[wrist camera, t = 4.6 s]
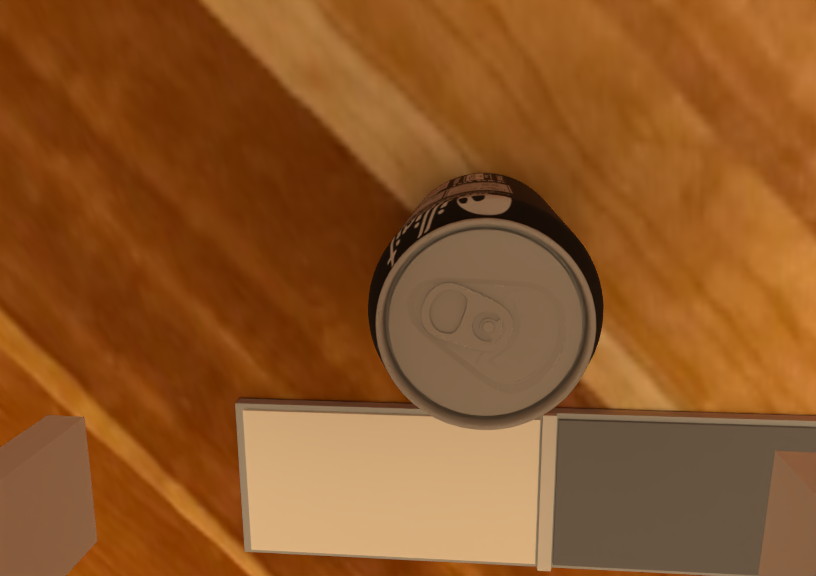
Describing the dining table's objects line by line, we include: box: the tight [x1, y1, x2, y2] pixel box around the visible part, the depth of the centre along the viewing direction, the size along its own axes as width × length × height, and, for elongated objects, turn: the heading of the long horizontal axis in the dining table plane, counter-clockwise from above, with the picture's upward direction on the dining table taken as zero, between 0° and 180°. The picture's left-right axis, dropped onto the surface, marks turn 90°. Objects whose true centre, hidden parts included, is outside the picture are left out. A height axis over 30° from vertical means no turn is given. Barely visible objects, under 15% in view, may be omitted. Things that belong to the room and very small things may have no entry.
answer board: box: [235, 398, 816, 576], centre depth 32 cm, size 8×28×1 cm, turn 90°
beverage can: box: [368, 173, 603, 430], centre depth 24 cm, size 7×7×12 cm
